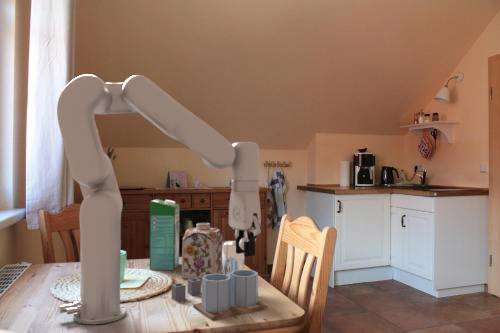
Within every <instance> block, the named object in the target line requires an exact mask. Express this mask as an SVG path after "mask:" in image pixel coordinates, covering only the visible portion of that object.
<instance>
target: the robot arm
mask: <svg viewBox="0 0 500 333" xmlns="http://www.w3.org/2000/svg"><path fill="white" fill-rule="evenodd" d="M56 106H57V107H56V114H57V122H58V126H59V131H60V134H61V139H62V143H63V146H64V147H63V148H64V150H65V154H66V158H67V162H68V166H69V170H70V174H71V176H72V178H73V180H74V181H75V182H77V184H78V185H79V188H80V191H81V195H82V197H83V200H82V202H81V204H80V208H79V213H78V214H79V217H78V218H79V232H80V238H79V239H80V278H79V279H80V283H79V284H80V286H79V288H80V291H79V292H80V294H79V296H80V297H77V301H73V303H69V304H68V303H66V304H65V303H64V304H60V305H59V307H58V308H59V314H65V313H66V315H72V314H73V320H74V321H75V322H76V323H79V324H83V325H103V324H109V323H112V322H116V321H118V320H121V319H123V318H124V317H125V316H126V315H127V314H128V313H127V310H128V309H127V307H126V306H125V305H123V304H121V279H122V278H121V270H122V269H121V268H122V267H121V262H122V259H121V258H122V254H121V252H122V251H121V250H122V249H121V248H122V247H121V246H122V245H121V244H122V239H121V238H122V237H121V236H122V235H121V234H122V233H121V232H122V231H121V230H122V229H121V225H122V224H121V222H122V220H121V218H122V212H123V206H124V205H123V199H122V196H121V195H122V194H121V192H120V188H119V185H118V182H117V178H116V174H115V170H114V167H113V164H112V161H111V159H110V157H109V156H108V155H107V154H106V152H104V148H103V145H102V141H101V139H100V135H99V133H100V132H99V129H98V128H97V124H96V123H97V122H96V120H95V115H114V114H134V113H139V115H141V117H143V118H144V119H146V120H147V121H149V122H150V123H151V124H153V126H155V127H157V129H159V130H160V131H161V132H162V133H164V134H165V135H166V136H168V137H170V138H171V139H174V140H176V141H179V142H180V143H182V144H184V146H185V145H186V146H187V147H188V148H190V149H191V150H192V151H193V152H195V153H196V154H198V155H199V156H200V157H201V159H202V162H203V163H204V164H205V165H206V167H208V168H211V169H214V170H224V169H227V168H230V169H231V171H230V174H231V175H230V176H231V177H230V179H231V180H230V181H231V182H230V183H231V185H230V186H231V191H230V197H229V203H228V225H229V227H230V228H231V229H232V230H233V232H234V239H235V241H236V253H237V254H240V253H244V258H245V257H247V258H248V257H253V256H255V255H256V241H257V237H258V236H259V235H260V234H261V232H262V231H261V222H262V221H261V220H262V213H261V211H262V210H261V201H260V164H259V163H260V160H259V158H260V148H259V145H258V143H256V142H253V141H237V142H234V143H232V142H230V141H229V140H228V139H227V138H226V137H224V135H222V134H221V133H219V132H218V131H217V130H216V129H214V128H213V127H212V126H211V125H209V124H208V123H207V122H205V121H204V120H202V119H201V118H199V117H198V116H197V115H195V114H194V113H193V112H191V111H190V110H189V109H188V108H186V107H185V106H183V105H182V104H181V103H180V102H178V101H177V100H176V99H174V98H173V97H172V96H171V95H170V94H168V93H167V92H166V91H164V89H162V88H161V87H160V86H158V85H157V84H156V83H155V82H154V81H152V80H151V79H149V78H148V77H146V76H144V75H141V74H136V75H132V76H130V77H128V78H127V79H126V80H125V81H124V82H105V81H104V80H103V79H101V78H100V77H99V76H96V75H94V74H88V73H87V74H82V75H79V76H77V77H75V78H73V79H72V80H71V81H70V82H68V83H67V84H66V86H64V88H63V90H62V91H61V92H60V95H59V96H58V100H57V105H56ZM243 237H245V241H244V250H242V249H241V248H240V246H239V242H240V240H241V239H242V238H243Z"/></svg>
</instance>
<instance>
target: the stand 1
mask: <svg viewBox="0 0 500 333" xmlns="http://www.w3.org/2000/svg"><path fill="white" fill-rule="evenodd" d="M186 288H187V285H186V284H185V283H183V282H180V283H178V282H177V283H173V284H172V283H171V299H172V300H173V301H175V302H179V301H184V300H186V298H187V297H186V296H187V295H186V293H187V292H186V290H187V289H186Z"/></svg>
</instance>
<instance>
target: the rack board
mask: <svg viewBox="0 0 500 333" xmlns="http://www.w3.org/2000/svg"><path fill="white" fill-rule="evenodd" d="M192 305H193V306H192V307H193V309H195V310H197V311H198V312H199V313H201V314H202V315H204V317H207V318H208V319H209V320H211V321H215V320H221V319H226V318H231V317H235V316H240V315H243V314H249V313H254V312H258V311H264V310H267V309H268V305H266V304H265V303H263V302H261V301H259V300H258V302H257V304H256V305H254V306H249V307H238V306H234V305H232V304H231V308H230V309H229V310H228V311H224V312H219V313H213V312H206V311H204V310H203V309H202V302H199V303H193V304H192Z"/></svg>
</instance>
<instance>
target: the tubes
mask: <svg viewBox="0 0 500 333" xmlns="http://www.w3.org/2000/svg"><path fill="white" fill-rule="evenodd" d="M258 286H259V273H258V272H257V271H255V270H251V269H243V270H236V271H232V272H231V273H230V276H229V275H227V274H223V273H221V274H208V275H205V276H203V277H202V280H201V303H202V309H203V310H204V311H206V312H213V313H219V312H224V311H228V310H229V309H230V308H231V304H232V305H234V306H238V307H249V306H254V305H256V304H257V302H258V301H259V297H258V296H259V292H258V291H259V289H258V288H259V287H258Z"/></svg>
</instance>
